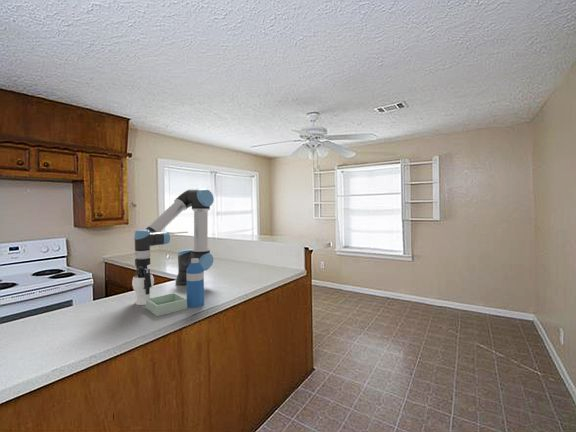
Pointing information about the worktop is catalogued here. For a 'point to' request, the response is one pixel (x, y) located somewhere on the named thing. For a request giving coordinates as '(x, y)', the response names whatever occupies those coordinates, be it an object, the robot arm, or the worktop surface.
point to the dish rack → (166, 304)
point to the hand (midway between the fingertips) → (143, 297)
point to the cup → (140, 288)
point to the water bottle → (195, 284)
